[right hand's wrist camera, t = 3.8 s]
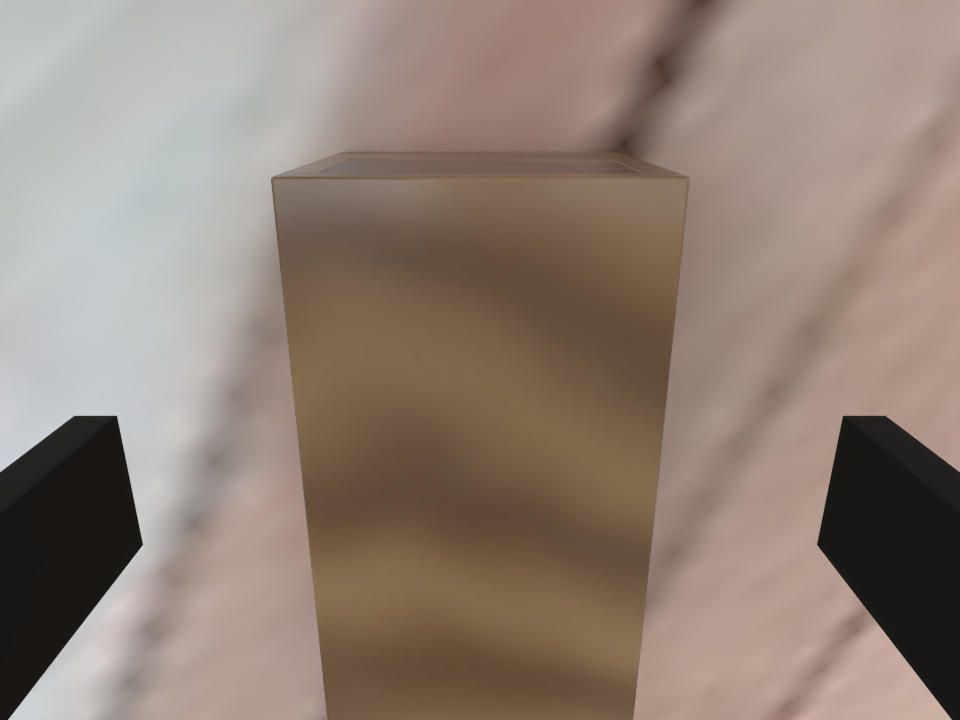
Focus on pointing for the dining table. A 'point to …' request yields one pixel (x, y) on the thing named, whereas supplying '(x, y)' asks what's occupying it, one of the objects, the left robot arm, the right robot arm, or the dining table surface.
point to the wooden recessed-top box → (480, 423)
